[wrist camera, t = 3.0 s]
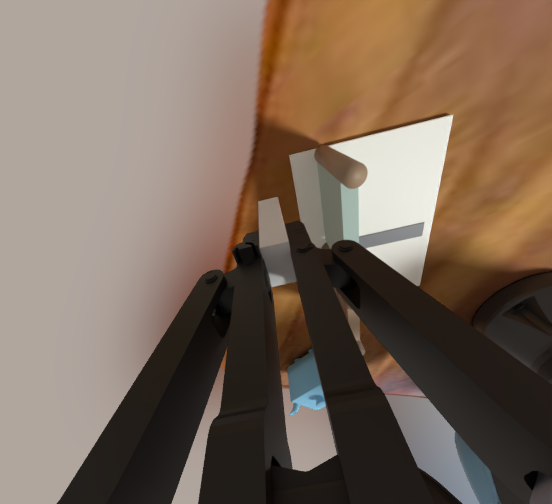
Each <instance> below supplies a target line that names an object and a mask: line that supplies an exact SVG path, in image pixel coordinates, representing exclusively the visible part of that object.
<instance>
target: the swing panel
mask: <svg viewBox="0 0 552 504" xmlns="http://www.w3.org/2000/svg"><path fill="white" fill-rule="evenodd" d="M314 158H315V160H316V161H317V167H318V176H319V185H320V194H321V203H322V212H323V222H324V231H325V240H326V242H327V244H328V246H329V248H330V249H331V248H332V245H333V244H334V243H336V242H337V241H341V240H353V241H355V242H357V243H359V197H358V187H360V186H361V185H362V184H363V183H364V182H365V180H366V178H367V175H368V171H367V168H366V166H365V165H364V164H363V163H361V162H359V161H357V160H355V159H353V158H351V157H349V156H347V155H345V154H343V153H341V152H339V151H337V150H335V149H333V148H331V147H329V146H327V145H321V146H319V147H318V148H317V149H316V150H315V153H314Z"/></svg>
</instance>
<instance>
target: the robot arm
mask: <svg viewBox="0 0 552 504" xmlns="http://www.w3.org/2000/svg"><path fill="white" fill-rule="evenodd" d="M258 213H259V231H256V232H252V233H248V234H246V236H245V237H244V238H243V242H242V243H239V244H238V245H236V246H235V247H234V248H233V250H232V252H233V255H234V257H235V260H236V262H237V268H235V269H234V270H232V271H230V272H228V273H225V274H224V273H223V271H221V270H212V271H209V272H207V273H205V274H204V275H202V277H201V278H200V279H199V280H198V282H197V284H196V285H195V287H194V288H193V290H192V292H191V293H190V295H189V296H188V298H187V299H186V301H185V302H184V304H183V306H182V307H181V309H180V310H179V312H178V314H177V315H176V317H175V318H174V320H173V321H172V323H171V325H170V326H169V328H168V329H167V331H166V333H165V334H164V336H163V337H162V339H161V340H160V342H159V344H158V345H157V347H156V348H155V350H154V352H153V353H152V355H151V356H150V358H149V359H148V361H147V363H146V364H145V366H144V367H143V369H142V371H141V372H140V374H139V375H138V377H137V378H136V380H135V382H134V383H133V385H132V386H131V388H130V390H129V391H128V393H127V394H126V396H125V397H124V399H123V401H122V402H121V404H120V405H119V407H118V409H117V410H116V412H115V413H114V415H113V417H112V418H111V420H110V421H109V423H108V424H107V426H106V428H105V429H104V431H103V432H102V434H101V435H100V437H99V439H98V440H97V442H96V443H95V445H94V447H93V448H92V450H91V451H90V453H89V454H88V456H87V458H86V459H85V461H84V462H83V464H82V466H81V467H80V469H79V470H78V472H77V473H76V475H75V477H74V478H73V480H72V481H71V483H70V485H69V486H68V488H67V489H66V491H65V492H64V494H63V496H62V497H61V499H60V500H59V501H58V503H57V504H171V503H172V500H173V498H174V495H175V492H176V489H177V486H178V484H179V481H180V478H181V475H182V472H183V469H184V467H185V464H186V461H187V458H188V455H189V453H190V450H191V447H192V444H193V441H194V439H195V436H196V433H197V430H198V427H199V424H200V421H201V419H202V416H203V413H204V410H205V407H206V405H207V402H208V399H209V396H210V393H211V391H212V388H213V385H214V382H215V379H216V377H217V373H218V371H219V368H220V365H221V362H222V360H223V357H224V354H225V351H226V348H227V346H228V348H227V357H226V365H225V375H224V383H223V392H222V401H221V408H220V413H219V415H218V416H217V417H216V418H215V419H214V420H213V421H212V424H211V426H210V430H209V434H208V439H207V446H206V453H205V460H204V467H203V474H202V481H201V488H200V495H199V502H198V504H462V503H461V502H460V501H459V500H458V499H457V498H455V497H454V496H453V495H452V494H451V493H450V492H449V491H448V490H447V489H446V488H445V487H443V486H442V485H441V484H440V483H439V482H438V481H436V480H435V479H434V478H433V477H431V476H430V475H428V474H427V473H426V472H424V471H423V470H421V469H419V468H418V467H417V465H416V462H415V460H414V458H413V456H412V454H411V451H410V449H409V447H408V444H407V443H406V440H405V438H404V436H403V433H402V431H401V429H400V427H399V425H398V422H397V420H396V418H395V416H394V413H393V411H392V409H391V407H390V404H389V402H388V400H387V398H386V396H385V394H384V393H383V391H382V390H381V388H379V387H378V386H376V384H375V383H374V381H373V379H372V377H371V374H370V372H369V370H368V367H367V365H366V363H365V360H364V358H363V356H362V353H361V351H360V349H359V346H358V344H357V342H356V339H355V337H354V335H353V332H352V330H351V328H350V325H349V323H348V321H347V318H346V316H345V314H344V311H343V309H342V307H341V304H340V302H339V300H338V297H337V295H336V293H335V290H334V288H335V289H336V291H337V292H338V293H339V294H340V296H341V297H342V298H343V299H344V300H345V301H346V303H347V304H348V305H349V306H350V307H351V309H352V310H353V311H354V312H355V313H356V314H357V316H358V317H359V318H360V319H361V320H362V321H363V323H364V324H365V325H366V326H367V327H368V329H369V330H370V331H371V332H372V333H373V334H374V336H375V337H376V338H377V339H378V340H379V342H380V343H381V344H382V345H383V346H384V347H385V349H386V350H387V351H388V352H389V353H390V354H391V356H392V357H393V358H394V359H395V360H396V362H397V363H398V364H399V365H400V366H401V367H402V369H403V370H404V371H405V372H406V373H407V375H408V376H409V377H410V378H411V379H412V380H413V382H414V383H415V384H416V385H417V386H418V387H419V389H420V390H421V391H422V392H423V393H424V395H425V396H426V397H427V398H428V399H429V400H430V402H431V403H432V404H433V405H434V406H435V408H436V409H437V410H438V411H439V412H440V413H441V415H442V416H443V417H444V418H445V419H446V420H447V422H448V423H449V424H450V425H451V426H452V427H453V428H454V430H455V443H456V448H457V452H458V455H459V458H460V461H461V464H462V466H463V469H464V471H465V474H466V476H467V478H468V480H469V482H470V485H471V487H472V489H473V491H474V493H475V495H476V497H477V499H478V501H479V503H480V504H552V272H549V273H543V274H538V275H535V276H531V277H528V278H525V279H523V280H520V281H518V282H516V283H514V284H512V285H510V286H508V287H506V288H505V289H503V290H501V291H500V292H498V293H497V294H495V295H494V296H493V297H491V298H490V299H489V300H488V301H487V302H486V303H485V304H484V305H483V306H482V307H481V308H480V309H479V310H478V312H477V313H476V315H475V317H474V319H473V324H472V326H473V327H472V326H471V325H470V324H468V323H467V322H466V321H464V320H463V319H461V318H460V317H459V316H457V315H456V314H455V313H453V312H452V311H450V310H449V309H448V308H446V307H445V306H444V305H442V304H441V303H439V302H438V301H437V300H435V299H434V298H433V297H431V296H430V295H429V294H427V293H426V292H424V291H423V290H422V289H420V288H419V287H418V286H416V285H415V284H413V283H412V282H411V281H409V280H408V279H407V278H405V277H404V276H402V275H401V274H400V273H398V272H397V271H396V270H394V269H393V268H392V267H390V266H389V265H387V264H386V263H385V262H383V261H382V260H381V259H379V258H378V257H376V256H375V255H374V254H372V253H371V252H370V251H368V250H367V249H366V248H364V247H363V246H361V245H360V244H359V243H357V242H355V241H353V240H341V241H337V242H336V243H334V244H333V245H332V248H331V249H320V248H317V247H316V246H315V245H314V244H313V243H312V242H311V240H310V237H309V235H308V232H307V230H306V228H305V225H304V223H302V222H300V221H296V222H292V223H288V224H284V220H283V216H282V212H281V208H280V204H279V200H278V197H274V198H270V199H266V200H262V201H258ZM293 282H297V284H298V289H299V293H300V298H301V302H302V306H303V310H304V314H305V319H306V323H307V327H308V331H309V336H310V340H311V344H312V349H313V353H314V357H315V361H316V366H317V370H318V374H319V378H320V383H321V387H322V391H323V396H324V400H325V404H326V408H327V413H328V417H329V421H330V425H331V430H332V434H333V439H334V443H335V447H336V451H337V455H336V456H334V457H332V458H331V459H329V460H327V461H326V462H324V463H322V464H320V465H319V466H317V467H315V468H313V469H312V470H310V471H307V472H304V471H298V470H293V469H292V462H291V455H290V450H289V446H288V442H287V434H286V425H285V415H284V405H283V394H282V384H281V373H280V363H279V353H278V342H277V332H276V322H275V312H274V301H273V293H272V290H271V286H272V287H275V286H279V285H284V284H288V283H293ZM270 283H271V285H270Z"/></svg>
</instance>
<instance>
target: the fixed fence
mask: <svg viewBox="0 0 552 504" xmlns="http://www.w3.org/2000/svg"><path fill="white" fill-rule="evenodd" d="M321 249H330V248H329V246H328V244H327V242H326V243H325V244H324V245H323V246H322V248H321ZM334 290H335V293H336V295H337V297H338V300H339V302H340V304H341V307H342V309H343V311H344V314H345V316H346V318H347V321H348V323H349V325H350V328H351V330H352V332H353V335H354V337H355V339H356V342H357V344H358V346H359V349H360V351H361V353H362V356H363V355H364V354H365V349H364V347H363V345H362V343H361V340H360V318H359V317H358V316H357V314H356V313H355V312H354V311H353V310H352V309H351V307H350V306H349V305H348V304H347V303H346V301H345V300H344V299H343V298H342V297H341V296H340V294H339V293H338V292H337V291H336V289H335V288H334Z"/></svg>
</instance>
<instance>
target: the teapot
mask: <svg viewBox="0 0 552 504" xmlns="http://www.w3.org/2000/svg"><path fill="white" fill-rule="evenodd" d="M294 362H295V363H293V364H292V365H290V366H289V367H287V371H288V380H289V389H290V397H291V402H294V406H293V410H292V411H291V413H290V415H294V414H296V413H297V412H298V409H299V406H300V405H302V406H305V407H308V408H311V409H314V410H319V409H321V408H322V407H324V406H326V404H325V400H324V396H323V391H322V387H321V383H320V378H319V374H318V370H317V366H316V361H315V357H314V353H313V349H309V350H308V354H307V355H305V356H304V357H302V358H301V359H300V358H297V359H295V360H294Z"/></svg>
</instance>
